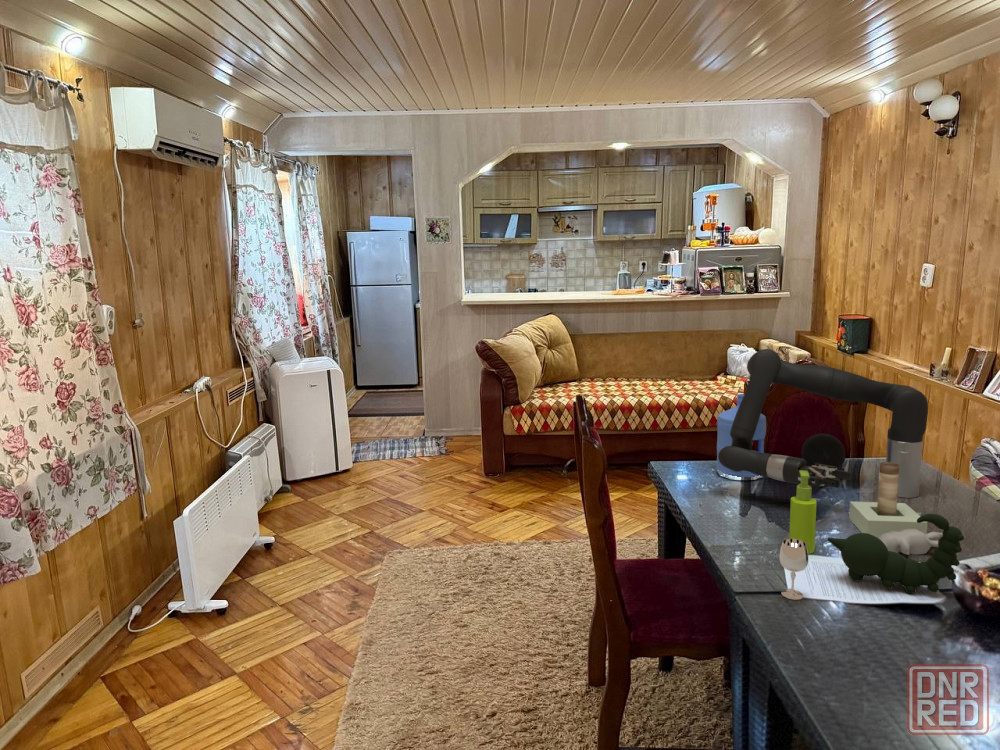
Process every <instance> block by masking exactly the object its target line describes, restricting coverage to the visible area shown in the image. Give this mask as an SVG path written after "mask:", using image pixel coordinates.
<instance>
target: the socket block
mask: <svg viewBox="0 0 1000 750" xmlns="http://www.w3.org/2000/svg"><path fill="white" fill-rule="evenodd" d="M877 504H878V501H875V502H874V501H849V514H848V515H849V516H848V518H849V520H850V522H852V523H853V525H854V524H855V525H854V526H855V527H856V528H857V529H858V530H859V531H860V533H868V534H871V535H873V536H875V537H877V538H879V537H880V536H881V535H882V534H884V533H888V532H890V531H896V532H901V531H902V530H905V529H917V530H919V531H921V532H923V533H925V534H928V523H929V522H921V523H918V522H917V519H918V518H919V517H921V516H922V515H920V514H918V513H917V511H914V509H912V508H911V507H910V506H909V505H908V504H907V503H905V502H897V508H896V516H878V515H877Z"/></svg>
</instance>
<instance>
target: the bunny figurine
mask: <svg viewBox="0 0 1000 750" xmlns="http://www.w3.org/2000/svg"><path fill="white" fill-rule="evenodd" d="M940 536H941V534H940V533H939V532H938V531H930V532H927V534H925V533H923V532H921V531H919V530H917V529H905V530H902V531H901V532H896V531H890V532H888V533H884V534H882V535H881V536H880V537H879V539H880V540H881V541H882V542H883V543H884V544H885V545H886V547H887V549H888V551H892V552H896V553H898V554H900V553H902V554H904V555H908V556H909V555H910V554H911V555H924V554H927V552H928V551H930V549H931V547H935V548H937V547H938V541H939V539H940V538H941V537H940ZM938 538H939V539H938ZM935 539H938V540H935Z"/></svg>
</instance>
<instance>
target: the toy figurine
mask: <svg viewBox="0 0 1000 750" xmlns="http://www.w3.org/2000/svg"><path fill="white" fill-rule="evenodd" d="M920 516H921V517H919V518H918V519H917V522H918V523H921V522H928V523H930V524H933V526H935V527H936V528H938V529H940V530H942V536H941V537H939V539H938V547H935V548H934V550H933V553H932V556H931V557H929V558H928V559H926V561H920V562H919V561H917V560H914V559H911V558H905V557H903V556H902V555H901V554H900V553H896V552H892V551H888V549H887V547H886V545H885V544H884V543H883V542H882V541H881V540H880V539H879V538H877V537H875V536H873V535H871V534H868V533H862V532H858V533H853V534H851V535H850V536H847V538H839V537H838V538H835V537H827V539H826V540H827V541H828V542H829V543H830V544H831V545H833V546H834V547H835V548H836V549H837V550H839V552H840V555H841V560H842V561H843V563H844V565H845V566H846V567H847V568H848V570H847V571H848V572H847V574H848V577H849V578H850V580H851V581H854V582H861V581H862V580H863V579H864V577H874V576H877V577H878V578H879V579H880V582H881V586H882V587H884V588H885V589H892V588H894V587H895V584H897V583H898V584H900V585H901V586H903V587H905V588H904V590H905V592H906V593H908V594H910V593H911V595H912V594H915V593H916V592H917V588H920V587H922V586H926V587H927V590H928V591H929V592H931V593H938V591H939V590H940V588H939V585H938V584H937V583H939V581H940V579H944V578H946V577H947V579H948V580H950V581H955V580H957V575H956V573H955V570H954V567H958V566H960V561H959V559H958V555H957V554H959V553H961V552H963V549H962V547H961V541H962V542H963V541H964V539H965V537H964V535H963V533H962V531H961V529H959V528H958V527H956V526H953V525H952V526H950V523H949V521H948V519H947V518H945V517H944V516H942V515H939V514H938V513H937V514H936V513H926V514H922V515H920ZM953 566H954V567H953Z"/></svg>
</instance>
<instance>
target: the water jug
mask: <svg viewBox="0 0 1000 750" xmlns="http://www.w3.org/2000/svg"><path fill="white" fill-rule="evenodd" d="M744 395H745V393H742V394H741V393H738V394H737V395H736V396H737V399H736V406H734V407H731V408H729V409H727V410H724V411H722V412H719V413H718V415H717V420H716V421H717V422H716V427H717V438H716V439H717V441H716V456H717V457H716V466H715V467H716V468H717V469H718V470H719V471H721V472H723V473H725V474H728V475H732V476H737V477H755V476H759V475H756V474H753V473H751V472H748V471H744V470H742V471H740V472H735V471H732V470H730V469H728V468H726V467H724V466H723V465H722V464H721V463H720V461H719V459H718V454H719V452H720V450H721V449H722V448H724V447H726V446H731V445H732V438H731V436H730V431H731V428H732V424H733V421H734V418H735V416H736V413H737V410H738V408H739V406H740V404H741V401H742V399H743V397H744ZM766 418H767V417H766V416H765V415H764V414H763V413H761V414H760V418H759V421H758V424H757V427H756V430H755V434H754V436H753V439H752V441H757V443H758V445H757V450H753V449H751V451H754V452H762V453H765V451H764V450H765V449H764V448H765V446H764V445H765V437H766V429H767V421H766V420H767V419H766Z"/></svg>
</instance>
